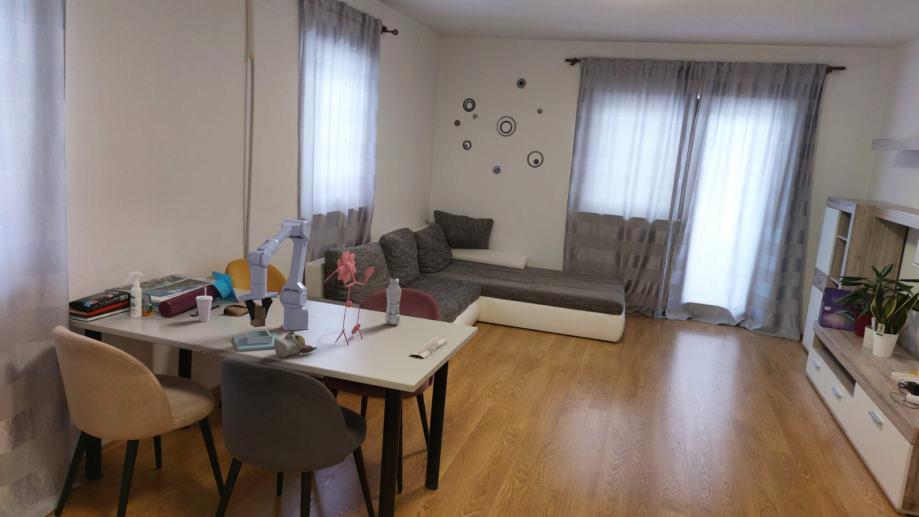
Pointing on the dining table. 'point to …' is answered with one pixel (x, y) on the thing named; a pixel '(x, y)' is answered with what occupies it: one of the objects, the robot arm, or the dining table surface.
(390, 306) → the plastic bottle
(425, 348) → the newspaper
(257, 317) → the peg
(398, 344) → the dining table surface
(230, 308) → the sunglasses case
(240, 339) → the board
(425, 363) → the dining table surface
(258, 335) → the socket
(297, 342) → the ceramic sculpture
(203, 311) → the smoothie
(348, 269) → the figurine
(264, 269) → the robot arm
